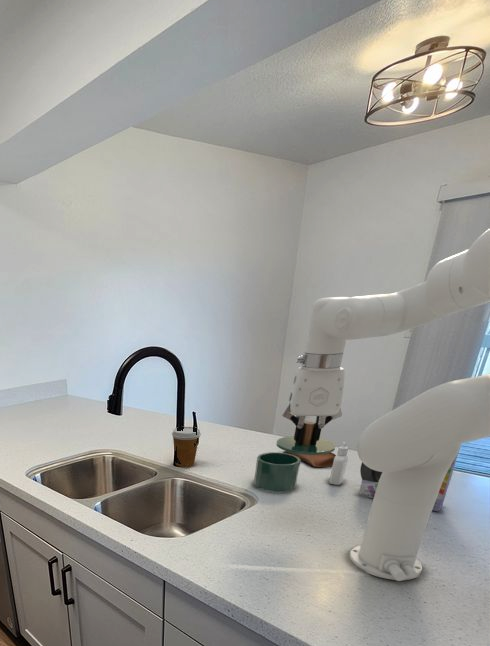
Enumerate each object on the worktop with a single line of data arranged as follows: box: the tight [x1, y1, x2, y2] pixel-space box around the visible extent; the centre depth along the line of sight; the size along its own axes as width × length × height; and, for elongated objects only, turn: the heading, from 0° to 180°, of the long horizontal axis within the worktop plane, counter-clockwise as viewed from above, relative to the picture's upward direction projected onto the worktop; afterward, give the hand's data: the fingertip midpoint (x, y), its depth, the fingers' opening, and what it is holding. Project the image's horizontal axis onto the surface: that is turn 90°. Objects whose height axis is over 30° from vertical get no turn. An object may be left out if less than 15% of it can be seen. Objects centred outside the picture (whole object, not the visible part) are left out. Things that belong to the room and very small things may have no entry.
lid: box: [275, 420, 336, 455], centre depth 102 cm, size 13×13×6 cm
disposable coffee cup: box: [171, 426, 202, 468], centre depth 147 cm, size 10×10×12 cm
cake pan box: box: [358, 451, 460, 512], centre depth 112 cm, size 19×5×18 cm, turn 45°
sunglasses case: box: [283, 450, 337, 468], centre depth 148 cm, size 18×7×7 cm, turn 13°
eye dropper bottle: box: [328, 442, 349, 486], centre depth 127 cm, size 4×6×12 cm
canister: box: [253, 451, 302, 493], centre depth 128 cm, size 11×11×8 cm
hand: (305, 442), depth 102 cm, fingers closed on lid, 2 cm apart
